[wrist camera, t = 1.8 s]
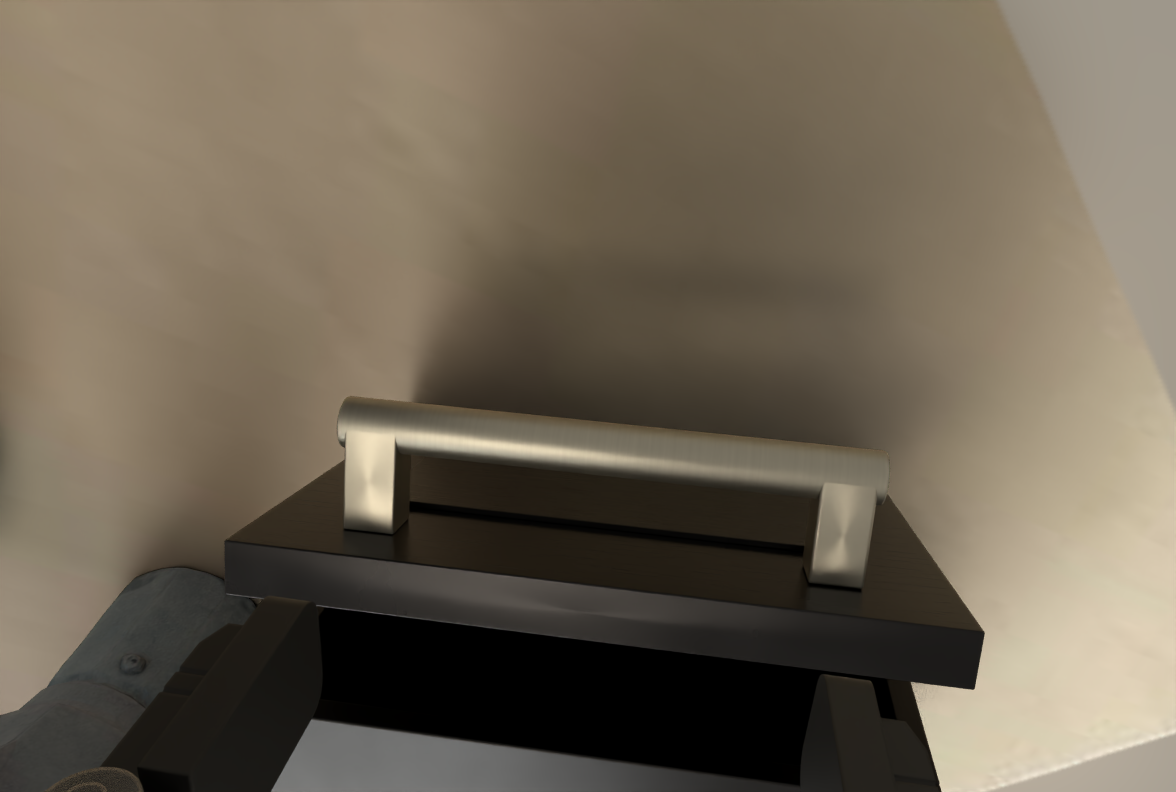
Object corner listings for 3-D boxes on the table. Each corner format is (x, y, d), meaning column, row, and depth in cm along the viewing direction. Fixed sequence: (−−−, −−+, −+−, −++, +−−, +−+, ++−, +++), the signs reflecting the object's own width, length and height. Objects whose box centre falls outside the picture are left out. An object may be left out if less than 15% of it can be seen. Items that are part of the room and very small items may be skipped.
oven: (408, 453, 40) (233, 706, 26) (859, 502, 38) (947, 807, 24) (418, 722, 47) (283, 1046, 32) (804, 776, 45) (846, 1148, 30)
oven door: (410, 333, 39) (223, 405, 23) (880, 377, 37) (1011, 487, 21) (405, 451, 40) (223, 594, 24) (862, 500, 38) (975, 690, 22)
